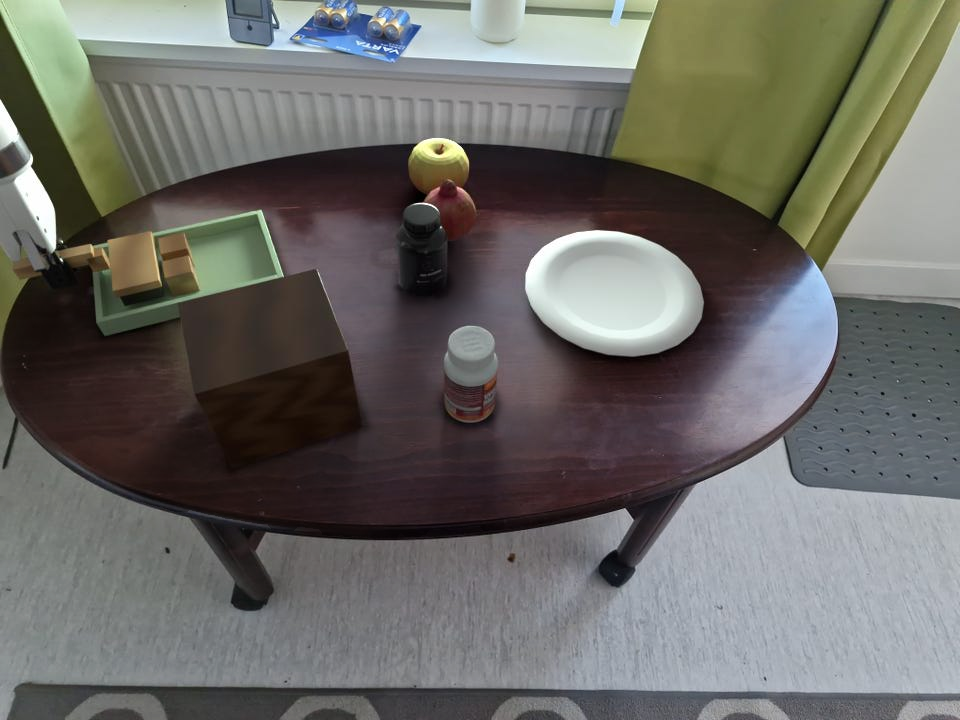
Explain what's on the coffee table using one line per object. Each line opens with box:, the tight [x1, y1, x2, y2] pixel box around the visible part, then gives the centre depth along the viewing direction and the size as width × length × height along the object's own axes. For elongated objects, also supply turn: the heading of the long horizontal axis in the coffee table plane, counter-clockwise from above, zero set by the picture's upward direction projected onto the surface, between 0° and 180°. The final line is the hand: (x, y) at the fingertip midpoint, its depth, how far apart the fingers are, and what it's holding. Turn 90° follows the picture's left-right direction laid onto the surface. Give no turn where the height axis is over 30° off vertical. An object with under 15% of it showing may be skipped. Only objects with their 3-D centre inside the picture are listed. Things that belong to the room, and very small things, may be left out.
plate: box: [524, 229, 705, 358], centre depth 91 cm, size 25×25×2 cm
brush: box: [12, 230, 164, 306], centre depth 85 cm, size 16×11×6 cm
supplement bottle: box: [395, 202, 449, 298], centre depth 87 cm, size 7×7×12 cm
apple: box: [407, 137, 470, 196], centre depth 103 cm, size 10×10×8 cm
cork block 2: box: [162, 256, 200, 297], centre depth 88 cm, size 4×4×4 cm
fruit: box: [422, 180, 477, 242], centre depth 95 cm, size 8×8×10 cm
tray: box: [92, 209, 284, 337], centre depth 90 cm, size 24×16×3 cm, turn 113°
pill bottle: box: [443, 325, 499, 424], centre depth 75 cm, size 6×6×11 cm
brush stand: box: [178, 268, 364, 469], centre depth 72 cm, size 15×13×14 cm
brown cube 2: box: [158, 233, 195, 267], centre depth 91 cm, size 4×4×4 cm
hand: (65, 278), depth 84 cm, fingers closed on brush
